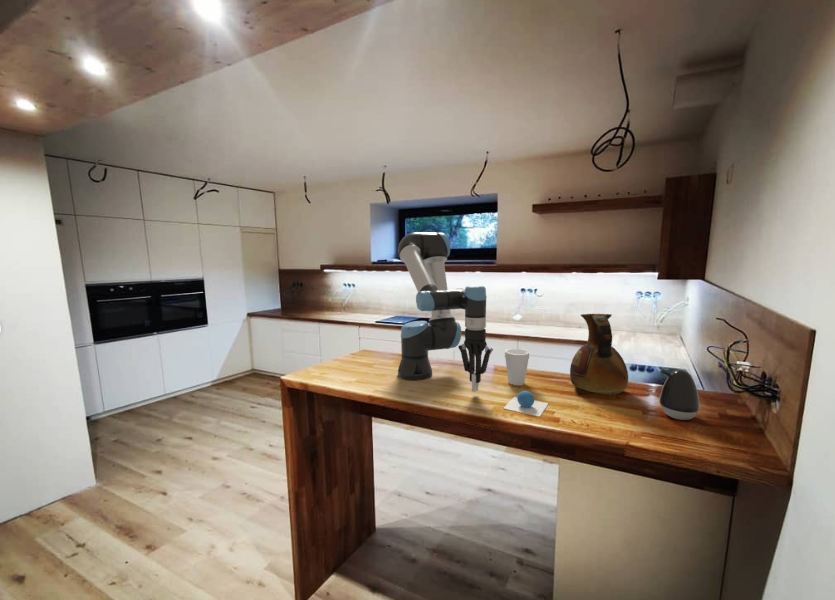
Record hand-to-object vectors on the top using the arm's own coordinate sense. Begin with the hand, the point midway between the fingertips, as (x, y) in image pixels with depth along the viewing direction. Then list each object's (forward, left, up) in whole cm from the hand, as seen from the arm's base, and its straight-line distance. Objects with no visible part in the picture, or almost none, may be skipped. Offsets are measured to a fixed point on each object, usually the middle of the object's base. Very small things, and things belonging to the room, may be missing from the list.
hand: (475, 390), depth 131 cm
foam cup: (+9, +21, -2) cm, 23 cm away
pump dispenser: (+62, +17, -2) cm, 64 cm away
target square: (+19, 0, -2) cm, 19 cm away
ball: (+19, -1, +1) cm, 19 cm away
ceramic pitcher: (+38, +28, -2) cm, 47 cm away
